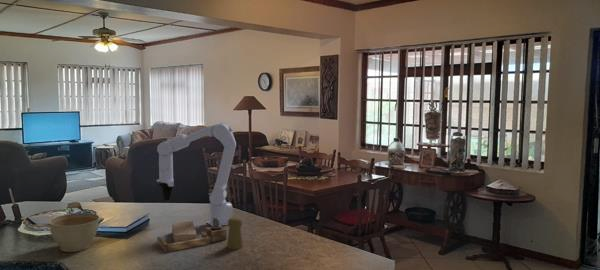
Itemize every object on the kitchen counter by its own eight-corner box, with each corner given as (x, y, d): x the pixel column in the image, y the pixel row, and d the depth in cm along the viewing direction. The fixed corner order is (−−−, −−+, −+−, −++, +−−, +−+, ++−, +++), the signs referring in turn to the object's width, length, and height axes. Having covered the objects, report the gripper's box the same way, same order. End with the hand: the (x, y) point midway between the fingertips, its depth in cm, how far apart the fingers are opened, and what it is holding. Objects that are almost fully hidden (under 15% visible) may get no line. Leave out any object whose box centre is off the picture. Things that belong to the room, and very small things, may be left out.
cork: (246, 245, 163) (246, 216, 162) (238, 250, 157) (238, 220, 156) (231, 243, 165) (231, 214, 164) (223, 248, 159) (223, 219, 158)
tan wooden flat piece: (200, 235, 173) (200, 229, 172) (210, 243, 164) (210, 237, 163) (157, 243, 163) (157, 236, 163) (166, 252, 154) (166, 245, 154)
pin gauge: (216, 237, 171) (216, 217, 170) (220, 238, 170) (220, 218, 169) (211, 238, 169) (211, 218, 169) (215, 240, 168) (215, 220, 167)
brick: (197, 244, 163) (197, 232, 163) (174, 246, 161) (174, 234, 160) (193, 231, 179) (192, 220, 179) (171, 233, 176) (171, 222, 176)
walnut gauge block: (220, 235, 174) (220, 225, 173) (226, 239, 169) (226, 229, 168) (206, 237, 170) (206, 227, 170) (211, 242, 165) (211, 232, 165)
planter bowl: (49, 259, 147) (47, 227, 146) (51, 244, 161) (50, 215, 160) (101, 251, 154) (100, 222, 153) (98, 238, 168) (98, 210, 167)
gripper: (152, 167, 190) (152, 197, 191) (161, 172, 178) (162, 204, 179) (168, 166, 194) (168, 195, 195) (178, 171, 182) (178, 202, 183)
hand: (166, 200), depth 188 cm, fingers closed
